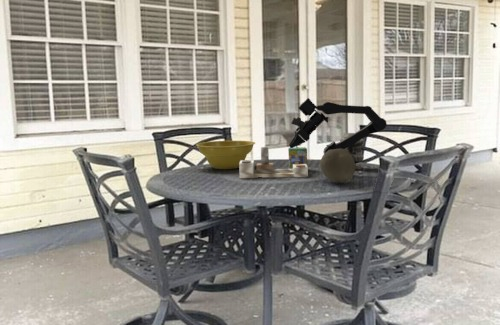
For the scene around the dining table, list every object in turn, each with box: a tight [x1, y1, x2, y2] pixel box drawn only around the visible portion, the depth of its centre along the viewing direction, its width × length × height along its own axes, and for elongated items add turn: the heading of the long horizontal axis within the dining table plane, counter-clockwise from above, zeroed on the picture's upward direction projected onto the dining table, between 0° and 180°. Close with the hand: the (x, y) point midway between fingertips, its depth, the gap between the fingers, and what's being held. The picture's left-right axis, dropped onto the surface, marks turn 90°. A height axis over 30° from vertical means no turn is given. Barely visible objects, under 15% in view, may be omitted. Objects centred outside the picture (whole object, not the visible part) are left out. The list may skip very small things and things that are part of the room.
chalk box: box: [288, 146, 309, 169], centre depth 260 cm, size 9×9×15 cm
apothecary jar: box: [339, 132, 365, 171], centre depth 260 cm, size 12×12×18 cm
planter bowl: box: [195, 140, 256, 170], centre depth 278 cm, size 32×32×13 cm
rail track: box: [238, 159, 309, 179], centre depth 245 cm, size 32×12×8 cm, turn 88°
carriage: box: [255, 146, 275, 170], centre depth 244 cm, size 8×8×10 cm
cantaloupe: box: [320, 149, 356, 185], centre depth 217 cm, size 14×14×15 cm
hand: (289, 146), depth 243 cm, fingers open, 9 cm apart
